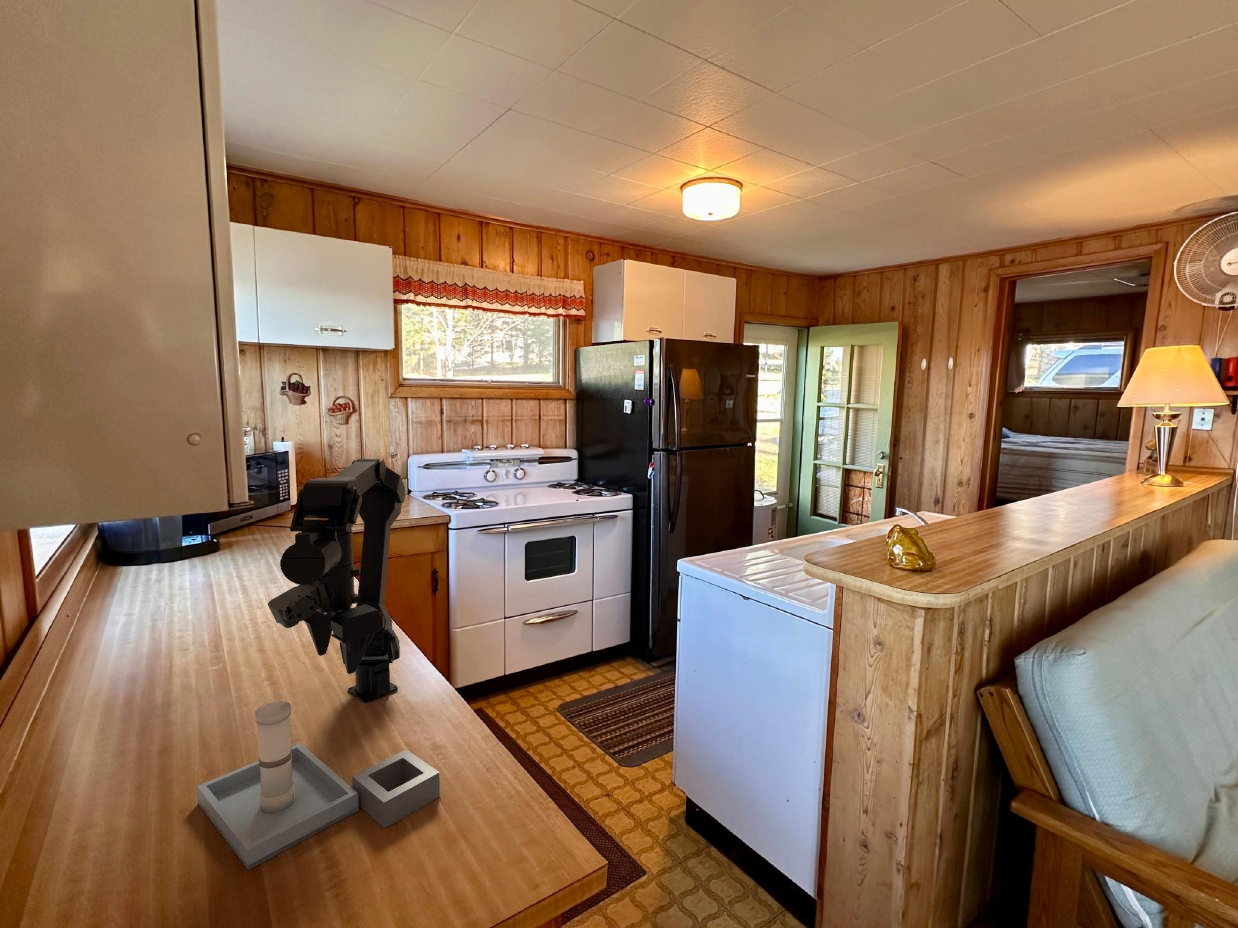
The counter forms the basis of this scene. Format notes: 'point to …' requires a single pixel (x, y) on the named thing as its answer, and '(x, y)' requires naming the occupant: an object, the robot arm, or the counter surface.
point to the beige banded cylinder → (275, 757)
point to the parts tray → (270, 834)
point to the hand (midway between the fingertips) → (336, 663)
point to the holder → (402, 799)
